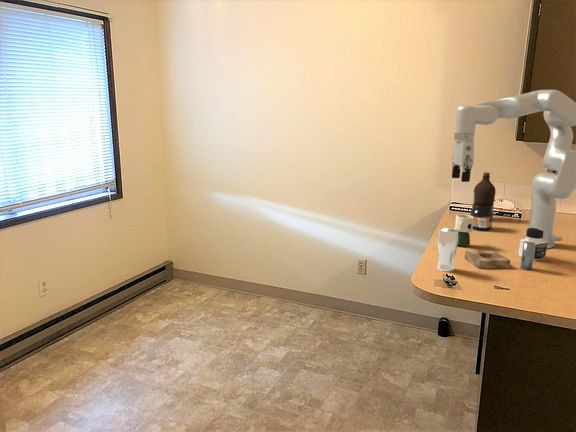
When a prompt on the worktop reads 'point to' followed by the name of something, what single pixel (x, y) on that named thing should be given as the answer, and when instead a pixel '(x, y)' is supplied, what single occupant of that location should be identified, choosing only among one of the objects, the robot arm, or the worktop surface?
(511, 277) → the worktop surface
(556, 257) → the worktop surface
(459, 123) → the robot arm
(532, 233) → the medicine bottle
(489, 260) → the square ring frame
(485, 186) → the olive oil
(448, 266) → the beer glass
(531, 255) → the metal peg
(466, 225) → the character mug
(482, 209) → the supplement container
